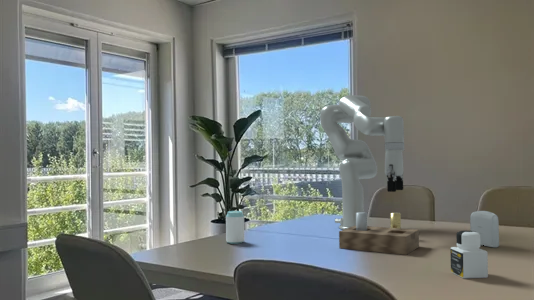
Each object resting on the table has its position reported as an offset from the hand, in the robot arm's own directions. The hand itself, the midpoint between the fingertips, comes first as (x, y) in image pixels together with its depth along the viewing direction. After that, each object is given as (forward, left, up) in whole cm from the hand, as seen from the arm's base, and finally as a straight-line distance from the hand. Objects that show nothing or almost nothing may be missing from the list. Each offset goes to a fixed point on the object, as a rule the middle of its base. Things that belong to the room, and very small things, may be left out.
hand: (395, 190), depth 187 cm
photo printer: (+32, +1, -19) cm, 37 cm away
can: (-52, -36, -19) cm, 66 cm away
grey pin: (-7, -20, -17) cm, 27 cm away
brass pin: (0, 0, -19) cm, 19 cm away
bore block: (0, -20, -19) cm, 27 cm away
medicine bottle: (+34, -46, -19) cm, 60 cm away
